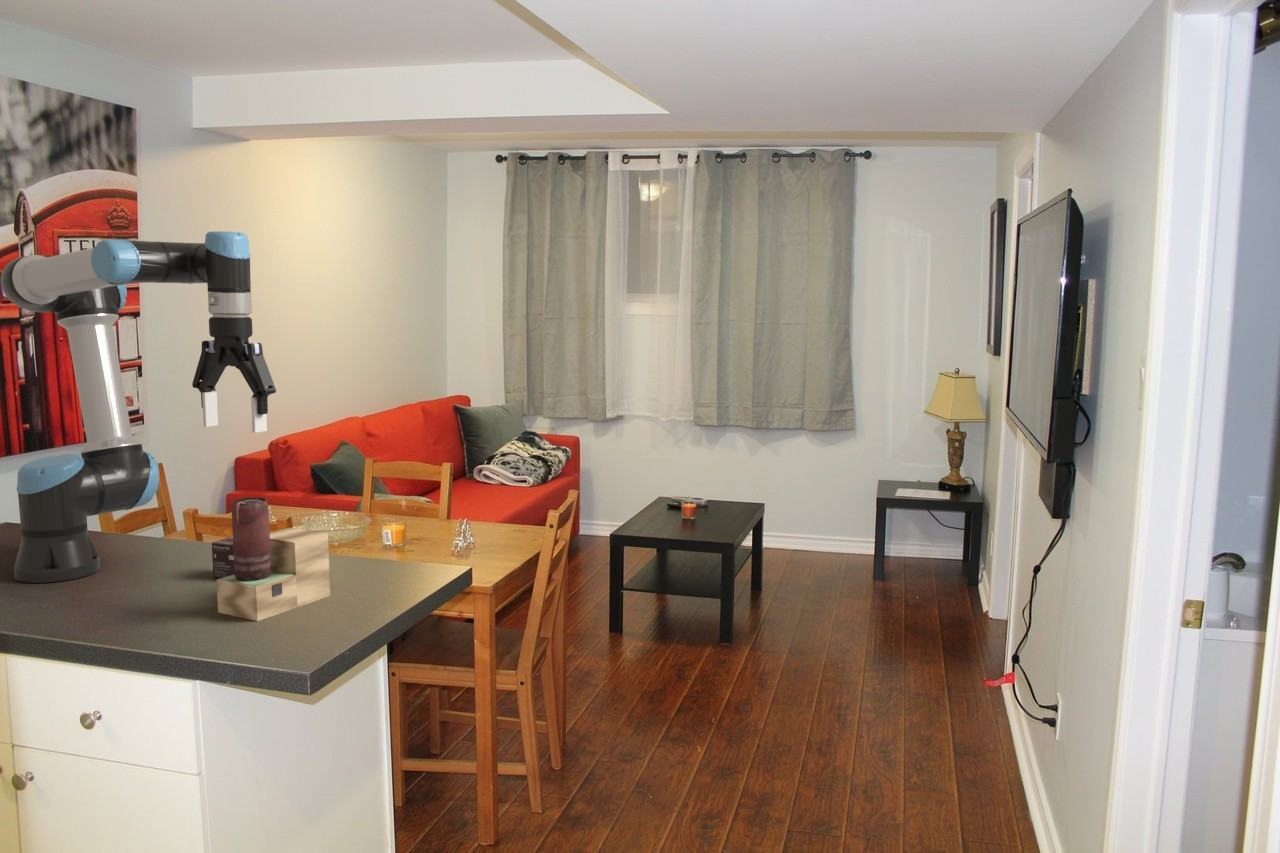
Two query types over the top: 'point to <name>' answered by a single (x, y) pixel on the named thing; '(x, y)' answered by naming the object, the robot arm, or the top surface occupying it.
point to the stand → (281, 578)
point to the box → (223, 558)
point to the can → (251, 539)
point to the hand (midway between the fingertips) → (234, 428)
